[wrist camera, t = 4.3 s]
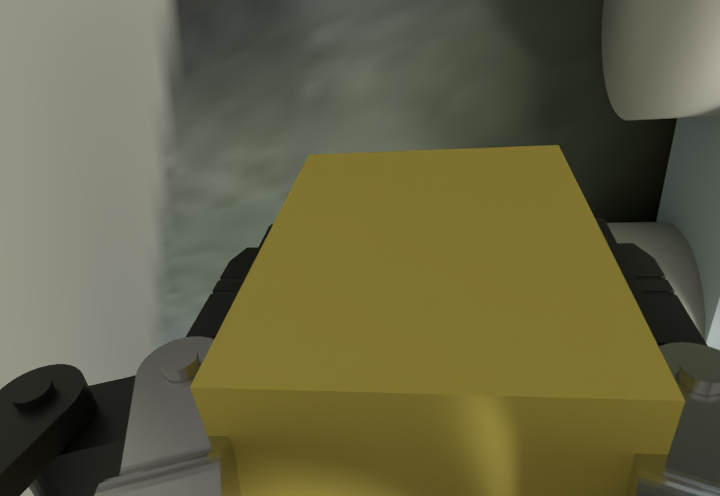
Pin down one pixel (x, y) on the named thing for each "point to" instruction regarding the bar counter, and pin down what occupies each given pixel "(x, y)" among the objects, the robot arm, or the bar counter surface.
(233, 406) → the block
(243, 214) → the bar counter surface
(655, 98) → the trolley
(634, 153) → the bar counter surface
